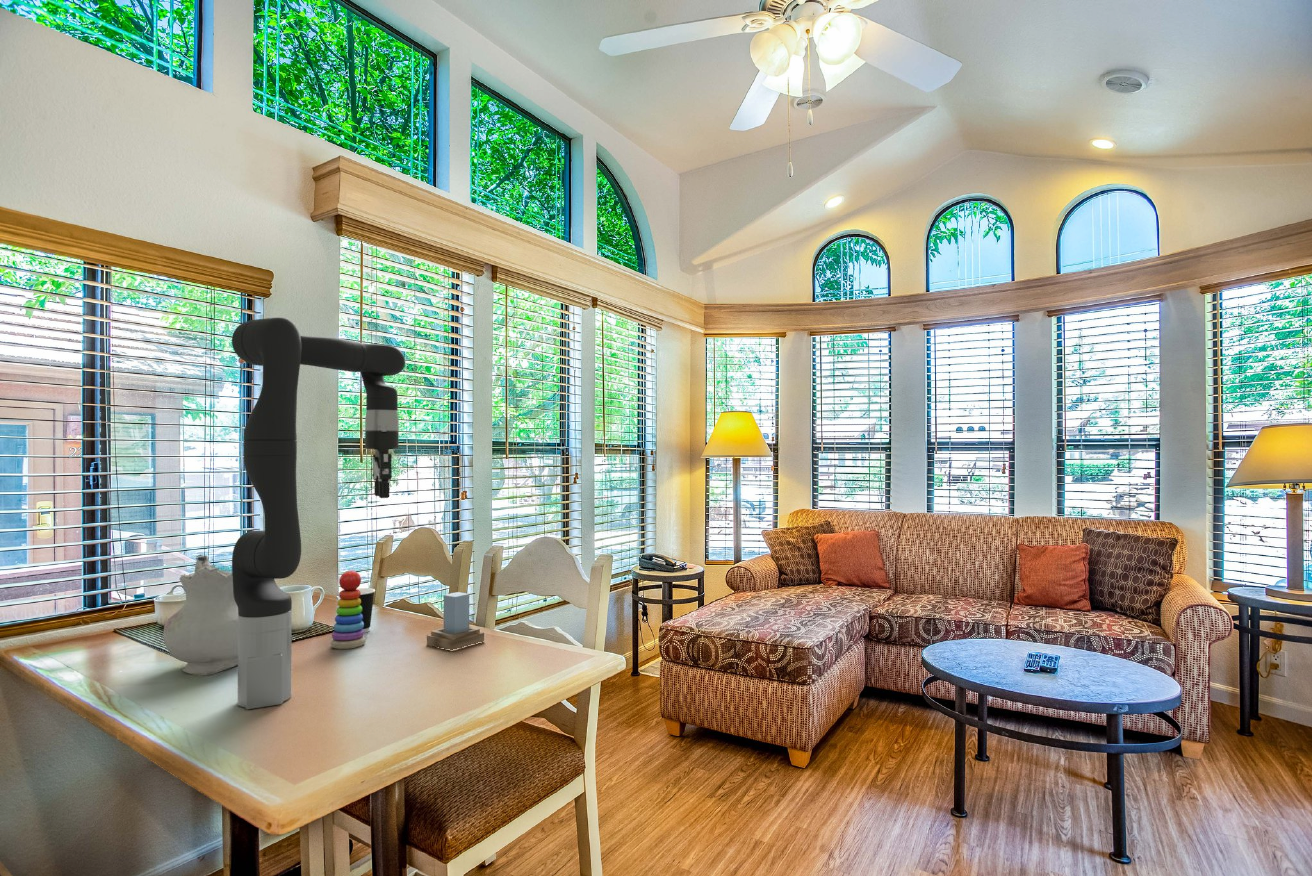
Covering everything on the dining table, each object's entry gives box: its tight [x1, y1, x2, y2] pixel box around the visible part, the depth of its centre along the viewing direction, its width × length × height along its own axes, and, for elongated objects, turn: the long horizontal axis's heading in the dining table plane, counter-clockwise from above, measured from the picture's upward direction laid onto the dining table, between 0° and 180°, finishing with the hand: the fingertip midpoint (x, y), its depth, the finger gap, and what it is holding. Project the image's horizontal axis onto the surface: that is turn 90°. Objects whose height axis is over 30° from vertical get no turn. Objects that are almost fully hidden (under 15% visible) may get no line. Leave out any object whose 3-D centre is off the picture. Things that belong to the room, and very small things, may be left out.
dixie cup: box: [357, 587, 376, 634], centre depth 189 cm, size 8×8×11 cm
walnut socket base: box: [426, 626, 485, 650], centre depth 176 cm, size 10×10×4 cm
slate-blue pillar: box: [443, 591, 470, 635], centre depth 176 cm, size 4×4×10 cm
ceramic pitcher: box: [162, 554, 238, 676], centre depth 159 cm, size 22×20×25 cm
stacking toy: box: [330, 570, 366, 650], centre depth 175 cm, size 8×8×19 cm
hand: (381, 496), depth 166 cm, fingers open, 8 cm apart
